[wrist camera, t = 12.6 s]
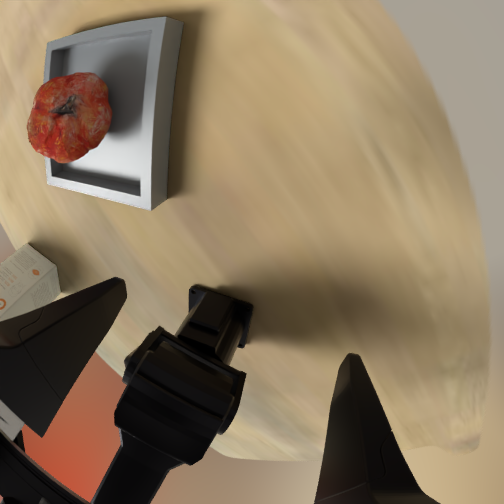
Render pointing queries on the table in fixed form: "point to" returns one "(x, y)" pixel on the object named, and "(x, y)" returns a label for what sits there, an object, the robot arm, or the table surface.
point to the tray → (123, 108)
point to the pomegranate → (69, 116)
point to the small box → (26, 282)
